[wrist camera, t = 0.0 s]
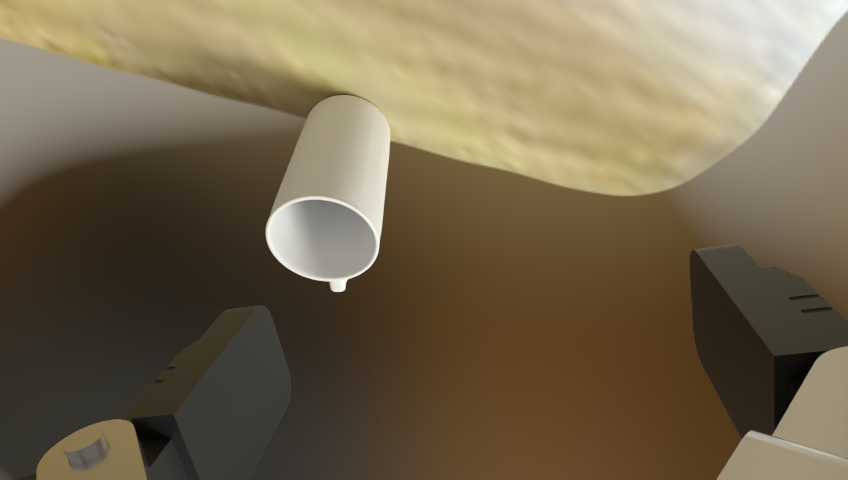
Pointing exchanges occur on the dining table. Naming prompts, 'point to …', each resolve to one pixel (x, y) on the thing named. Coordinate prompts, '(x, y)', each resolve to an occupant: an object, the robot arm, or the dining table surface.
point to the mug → (333, 193)
